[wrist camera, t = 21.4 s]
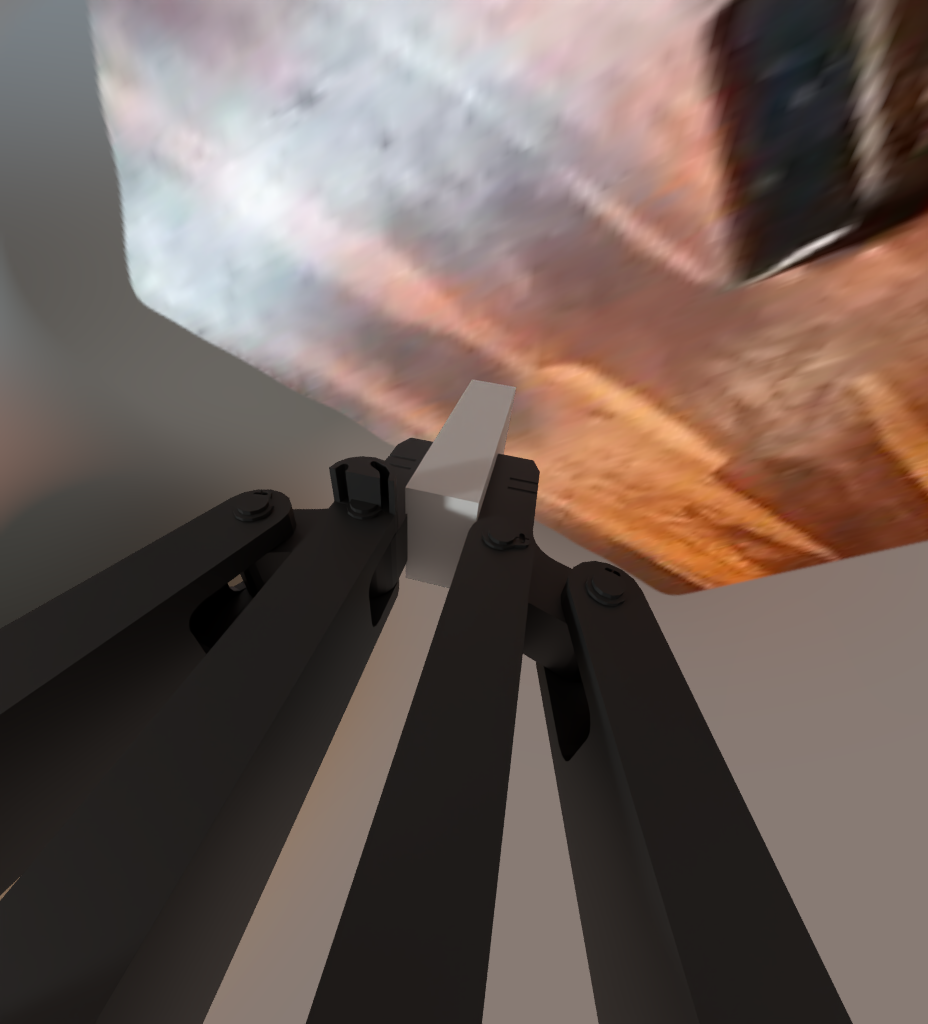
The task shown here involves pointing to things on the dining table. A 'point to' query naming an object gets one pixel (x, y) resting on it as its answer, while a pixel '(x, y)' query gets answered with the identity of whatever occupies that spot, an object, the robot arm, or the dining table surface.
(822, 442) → the dining table surface
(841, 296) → the dining table surface
